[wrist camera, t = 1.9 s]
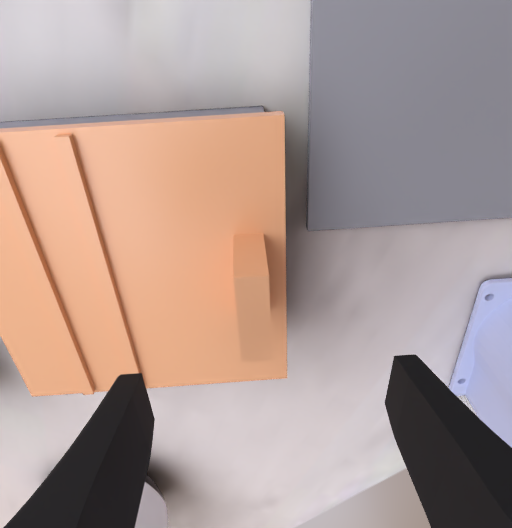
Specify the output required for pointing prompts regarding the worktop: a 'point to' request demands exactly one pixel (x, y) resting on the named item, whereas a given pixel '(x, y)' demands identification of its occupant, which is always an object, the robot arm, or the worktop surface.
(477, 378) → the robot arm
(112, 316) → the lid
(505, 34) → the mat
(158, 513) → the spread jar
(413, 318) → the worktop surface
